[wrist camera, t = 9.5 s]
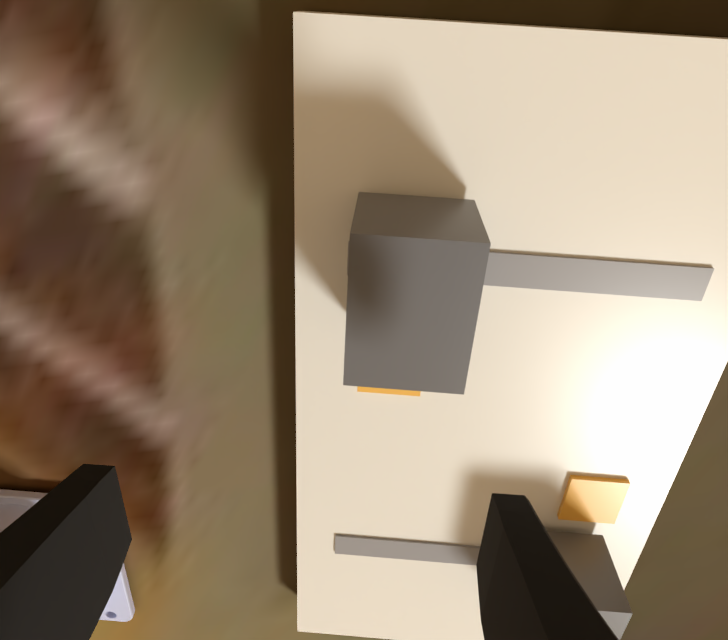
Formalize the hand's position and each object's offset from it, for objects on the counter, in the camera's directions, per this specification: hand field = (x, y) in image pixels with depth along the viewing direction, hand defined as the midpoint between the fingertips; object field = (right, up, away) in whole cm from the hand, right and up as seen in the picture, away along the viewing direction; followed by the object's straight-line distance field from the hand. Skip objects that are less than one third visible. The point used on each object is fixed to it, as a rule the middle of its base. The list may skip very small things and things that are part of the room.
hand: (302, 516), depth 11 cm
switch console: (+6, +1, +9) cm, 11 cm away
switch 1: (+2, +5, +5) cm, 8 cm away
